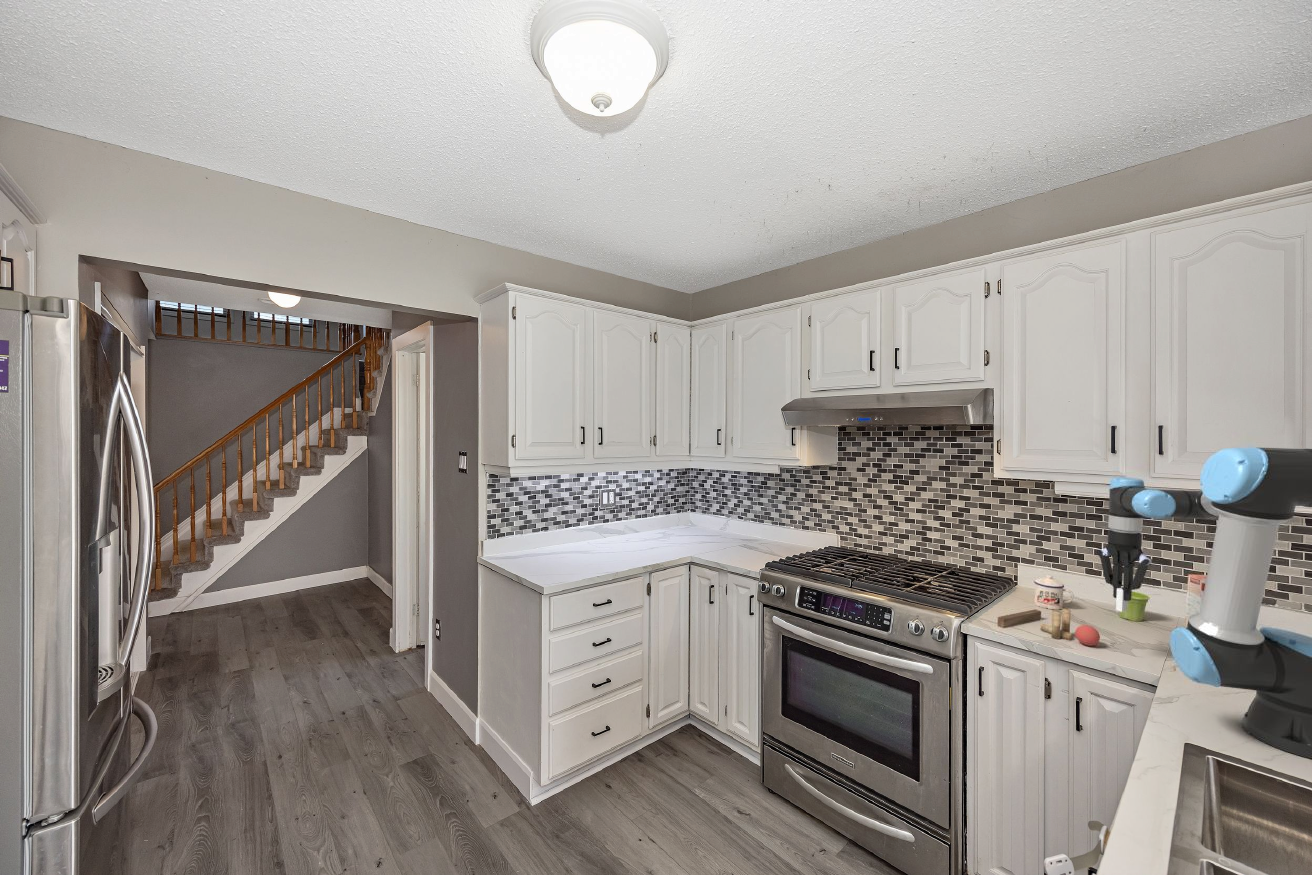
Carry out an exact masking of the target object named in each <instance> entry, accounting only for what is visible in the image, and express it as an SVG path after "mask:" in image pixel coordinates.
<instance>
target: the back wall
mask: <svg viewBox="0 0 1312 875" xmlns="http://www.w3.org/2000/svg"><path fill="white" fill-rule="evenodd" d="M1040 619H1041V620H1042V610H1038V609H1031V610H1026V611H1021V612H1016V613H1011V614H1005V615H1001V616H997V624H996V625H997V627H999V628H1003V629H1005V628H1009V627H1014V625H1015V626H1018V624H1019V625H1022V624H1027V623H1031V622H1037V621H1041V620H1040Z"/></svg>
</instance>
